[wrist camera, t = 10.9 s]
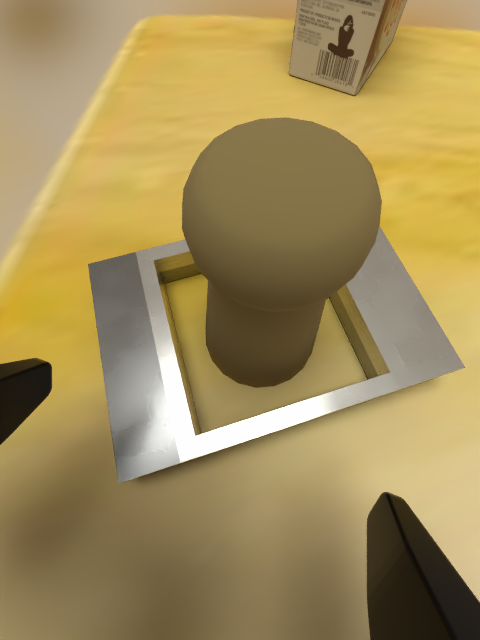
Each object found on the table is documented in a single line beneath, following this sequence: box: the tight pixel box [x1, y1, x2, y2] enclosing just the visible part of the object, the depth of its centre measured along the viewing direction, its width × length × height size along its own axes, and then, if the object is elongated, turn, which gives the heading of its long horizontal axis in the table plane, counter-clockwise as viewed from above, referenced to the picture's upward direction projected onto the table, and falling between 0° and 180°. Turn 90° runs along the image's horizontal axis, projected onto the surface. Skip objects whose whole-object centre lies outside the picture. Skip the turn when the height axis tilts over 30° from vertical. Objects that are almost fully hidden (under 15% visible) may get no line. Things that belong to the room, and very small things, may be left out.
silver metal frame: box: [88, 226, 465, 484], centre depth 16 cm, size 16×11×2 cm
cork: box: [182, 118, 382, 387], centre depth 12 cm, size 6×6×11 cm
